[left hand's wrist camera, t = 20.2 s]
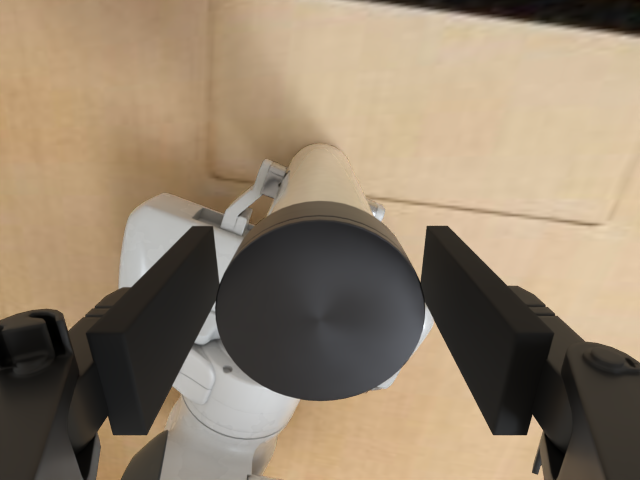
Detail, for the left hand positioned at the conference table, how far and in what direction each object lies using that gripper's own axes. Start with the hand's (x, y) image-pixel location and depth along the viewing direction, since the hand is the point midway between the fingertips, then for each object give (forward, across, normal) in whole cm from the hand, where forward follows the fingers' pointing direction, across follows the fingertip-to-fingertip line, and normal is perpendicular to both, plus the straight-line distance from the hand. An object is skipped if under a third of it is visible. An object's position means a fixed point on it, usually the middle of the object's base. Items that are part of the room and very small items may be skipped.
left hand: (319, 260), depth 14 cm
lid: (-4, 0, 0) cm, 4 cm away
